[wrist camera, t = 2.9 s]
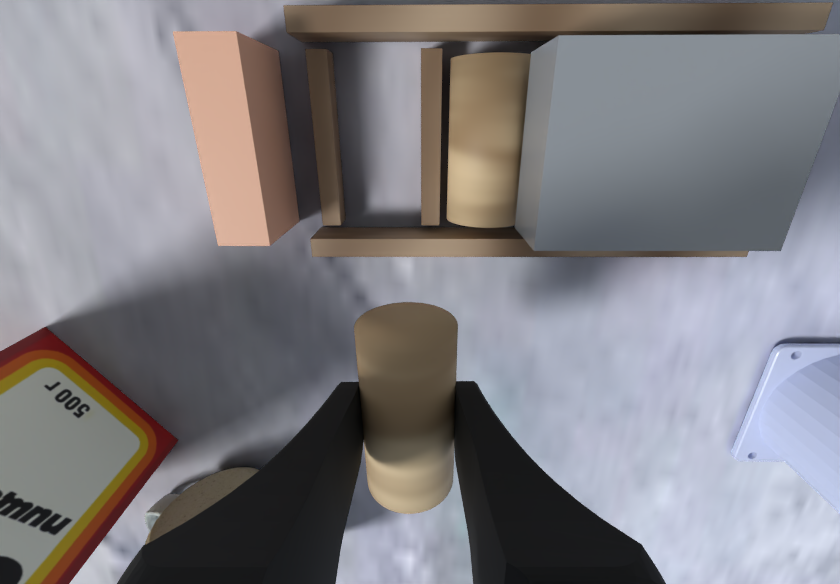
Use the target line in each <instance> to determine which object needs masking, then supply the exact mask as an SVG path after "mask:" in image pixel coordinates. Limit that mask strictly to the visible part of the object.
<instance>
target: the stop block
mask: <svg viewBox="0 0 840 584" xmlns="http://www.w3.org/2000/svg"><path fill="white" fill-rule="evenodd" d="M173 35H174V40H175V45H176V49H177V54H178V59H179V63H180V68H181V73H182V78H183V82H184V87H185V92H186V97H187V101H188V106H189V111H190V116H191V120H192V125H193V130H194V134H195V139H196V144H197V149H198V153H199V158H200V163H201V168H202V172H203V177H204V182H205V186H206V191H207V196H208V201H209V205H210V210H211V215H212V220H213V224H214V229H215V234H216V238H217V243H218V246H270V245H272V244H273V243H274V242H275V241H276V240H278V239H279V238H280V237H281V236H282V235H284V234H285V233H286V232H287V231H288V230H290V229H291V228H292V227H293V226H294V225H296V224H297V223H298V222H299V221H300V220H299V212H298V204H297V196H296V188H295V180H294V172H293V164H292V156H291V148H290V140H289V132H288V124H287V116H286V107H285V99H284V91H283V83H282V75H281V67H280V59H279V51H278V50H275V49H273V48H271V47H269V46H267V45H265V44H262V43H260V42H258V41H256V40H254V39H252V38H249V37H247V36H245V35H243V34H241V33H239V32H237V31H190V32H173Z"/></svg>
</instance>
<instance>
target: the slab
mask: <svg viewBox="0 0 840 584" xmlns="http://www.w3.org/2000/svg"><path fill="white" fill-rule="evenodd" d="M839 93H840V34H748V35H559V36H557V37H555V38H554V39H552V40H550V41H549V42H547V43H546V44H544V45H542V46H541V47H539V48H537V49H536V50H534V51H532V52H531V59H530V70H529V80H528V91H527V102H526V112H525V123H524V134H523V144H522V155H521V166H520V176H519V187H518V198H517V208H516V219H515V229H516V230H517V231H518V232H519V234H520V235H521V236H522V237H523V238H524V240H525V241H526V242H527V243H528V244H529V246H530V247H531V248H532V249H533V250H534V251H781V249H782V246H783V243H784V241H785V238H786V235H787V233H788V230H789V227H790V225H791V222H792V219H793V217H794V214H795V211H796V209H797V206H798V203H799V201H800V198H801V195H802V193H803V190H804V187H805V185H806V182H807V179H808V176H809V174H810V171H811V168H812V166H813V163H814V160H815V158H816V155H817V152H818V150H819V147H820V144H821V142H822V139H823V136H824V134H825V131H826V128H827V126H828V123H829V120H830V118H831V115H832V112H833V109H834V107H835V104H836V101H837V99H838V96H839Z"/></svg>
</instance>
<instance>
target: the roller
mask: <svg viewBox="0 0 840 584" xmlns="http://www.w3.org/2000/svg"><path fill="white" fill-rule="evenodd" d="M457 332H458V324H457V321H456V319H455V317H454V316H453V315H452V314H451V313H449V312H448V311H446V310H444V309H442V308H440V307H437V306H434V305H430V304H424V303H414V302H403V303H393V304H387V305H383V306H380V307H376V308H374V309H371V310H369V311H367V312H366V313H364V314H363V315H362V316H360V317H359V318H358V320H357V321H356V323H355V326H354V333H355V345H356V356H357V367H358V379H359V390H360V401H361V413H362V424H363V435H364V447H365V458H366V469H367V481H368V487H369V490H370V492H371V494H372V496H373V497H374V499H375V500H376V501H377V502H378V503H379V504H381V505H382V506H383V507H385V508H387V509H389V510H391V511H394V512H398V513H404V514H414V513H420V512H424V511H427V510H430V509H432V508H433V507H435V506H437V505H438V504H440V503H441V502H442V501H443V500H444V499H445V498H446V496H447V495H448V493H449V492H450V490H451V487H452V484H453V469H454V421H455V386H456V366H457Z"/></svg>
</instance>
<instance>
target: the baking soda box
mask: <svg viewBox="0 0 840 584" xmlns="http://www.w3.org/2000/svg"><path fill="white" fill-rule="evenodd" d="M177 441H178V439H176V438H175V437H174V436H173V435H172V434H171V433H169V432H168V431H167V430H166V429H165V428H164V427H162V426H161V425H160V424H159V423H158V422H156V421H155V420H154V419H153V418H152V417H151V416H149V415H148V414H147V413H146V412H145V411H144V410H142V409H141V408H140V407H139V406H138V405H137V404H135V403H134V402H133V401H132V400H131V399H129V398H128V397H127V396H126V395H125V394H124V393H122V392H121V391H120V390H119V389H118V388H117V387H115V386H114V385H113V384H112V383H111V382H109V381H108V380H107V379H106V378H105V377H104V376H102V375H101V374H100V373H99V372H98V371H97V370H95V369H94V368H93V367H92V366H91V365H90V364H88V363H87V362H86V361H85V360H84V359H82V358H81V357H80V356H79V355H78V354H77V353H75V352H74V351H73V350H72V349H71V348H70V347H68V346H67V345H66V344H65V343H64V342H63V341H61V340H60V339H59V338H58V337H57V336H55V335H54V334H53V333H52V332H51V331H50V330H48V329H47V328H46V327H44V328H42V329H40V330H39V331H37V332H35V333H33V334H31V335H29V336H28V337H26V338H24V339H22V340H20V341H19V342H17V343H15V344H13V345H11V346H10V347H8V348H6V349H4V350H2V351H0V584H69V583H70V582H71V580H72V579H73V578H74V576H75V575H76V574H77V573H78V571H79V570H80V569H81V567H82V566H83V565H84V563H85V562H86V561H87V559H88V558H89V557H90V556H91V554H92V553H93V552H94V550H95V549H96V548H97V546H98V545H99V544H100V542H101V541H102V540H103V538H104V537H105V536H106V535H107V533H108V532H109V531H110V529H111V528H112V527H113V525H114V524H115V523H116V521H117V520H118V519H119V517H120V516H121V515H122V514H123V512H124V511H125V510H126V508H127V507H128V506H129V504H130V503H131V502H132V500H133V499H134V498H135V496H136V495H137V494H138V493H139V491H140V490H141V489H142V487H143V486H144V485H145V483H146V482H147V481H148V479H149V478H150V477H151V475H152V474H153V473H154V472H155V470H156V469H157V468H158V466H159V465H160V464H161V462H162V461H163V460H164V458H165V457H166V456H167V454H168V453H169V452H170V451H171V449H172V448H173V447H174V445H175V444H176V443H177Z"/></svg>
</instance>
